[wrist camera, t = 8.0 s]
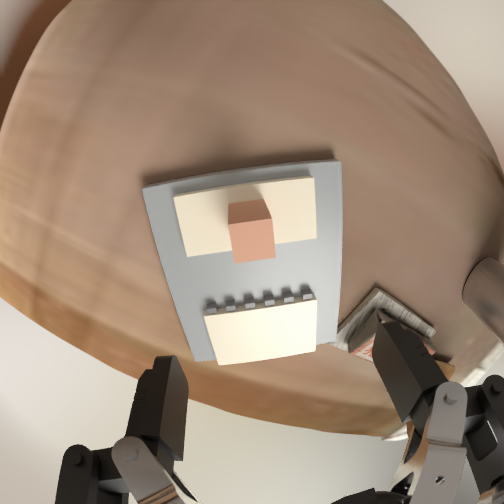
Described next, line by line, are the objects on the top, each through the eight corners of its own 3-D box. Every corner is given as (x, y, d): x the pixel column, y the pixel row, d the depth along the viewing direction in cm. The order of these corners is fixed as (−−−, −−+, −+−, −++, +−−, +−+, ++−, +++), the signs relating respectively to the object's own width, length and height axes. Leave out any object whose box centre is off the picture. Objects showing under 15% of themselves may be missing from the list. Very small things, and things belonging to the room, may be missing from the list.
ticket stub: (310, 175, 23) (334, 191, 18) (313, 234, 26) (334, 264, 21) (175, 194, 23) (159, 216, 18) (188, 252, 26) (179, 287, 20)
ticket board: (335, 158, 24) (345, 162, 22) (332, 332, 34) (338, 346, 32) (146, 185, 24) (138, 191, 22) (196, 353, 34) (195, 367, 32)
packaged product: (447, 344, 33) (404, 385, 36) (433, 325, 37) (393, 365, 41) (391, 305, 28) (334, 363, 31) (374, 282, 32) (324, 337, 35)
